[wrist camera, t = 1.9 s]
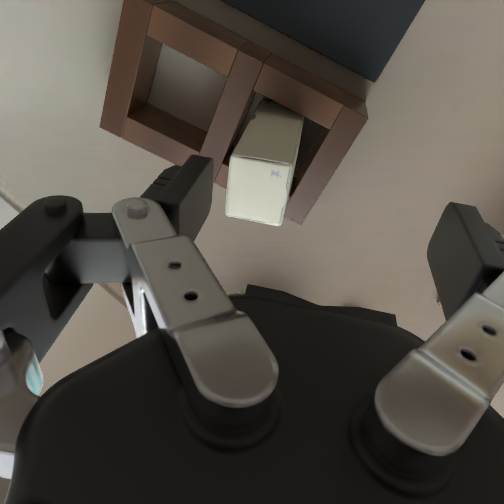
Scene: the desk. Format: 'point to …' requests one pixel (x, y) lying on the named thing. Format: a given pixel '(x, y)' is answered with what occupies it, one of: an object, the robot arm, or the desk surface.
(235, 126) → the rack
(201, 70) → the desk surface
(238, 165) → the box
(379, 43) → the mat
